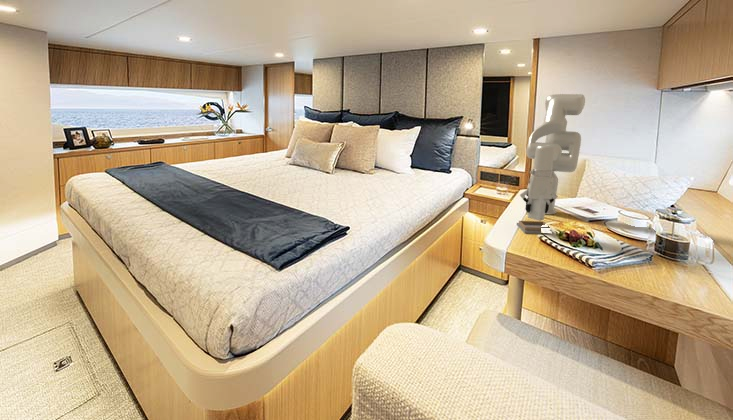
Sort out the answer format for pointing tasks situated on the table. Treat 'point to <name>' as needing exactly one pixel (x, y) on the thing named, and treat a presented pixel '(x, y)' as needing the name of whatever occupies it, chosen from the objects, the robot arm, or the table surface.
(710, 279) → the table surface
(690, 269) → the table surface
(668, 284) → the table surface
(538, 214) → the skincare box
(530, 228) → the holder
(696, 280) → the table surface
